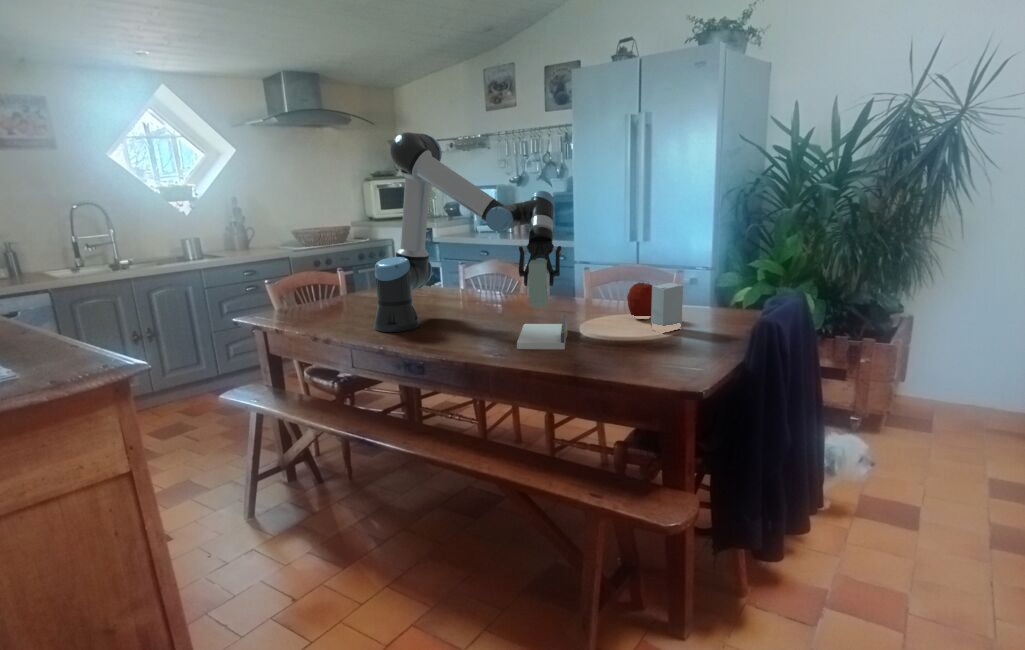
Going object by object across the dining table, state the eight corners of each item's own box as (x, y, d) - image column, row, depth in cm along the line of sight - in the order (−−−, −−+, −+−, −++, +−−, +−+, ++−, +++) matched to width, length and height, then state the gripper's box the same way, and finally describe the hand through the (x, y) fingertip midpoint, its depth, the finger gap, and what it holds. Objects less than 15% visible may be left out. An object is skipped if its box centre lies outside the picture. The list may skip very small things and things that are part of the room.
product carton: (529, 306, 178) (528, 264, 175) (532, 301, 186) (531, 259, 183) (546, 306, 178) (546, 263, 174) (548, 300, 185) (547, 259, 182)
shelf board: (516, 349, 175) (516, 332, 174) (524, 329, 196) (523, 315, 195) (566, 349, 173) (566, 332, 172) (568, 329, 194) (568, 315, 193)
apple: (626, 322, 201) (626, 282, 198) (627, 315, 210) (628, 277, 207) (657, 323, 199) (658, 282, 195) (657, 316, 208) (658, 277, 204)
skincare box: (669, 326, 194) (670, 281, 191) (682, 330, 189) (684, 284, 186) (649, 330, 191) (650, 285, 187) (662, 334, 185) (664, 287, 182)
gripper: (569, 240, 191) (568, 300, 179) (513, 241, 193) (509, 300, 182) (569, 224, 185) (568, 286, 173) (511, 226, 187) (506, 287, 175)
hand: (538, 293), depth 177 cm, fingers closed on product carton, 5 cm apart
